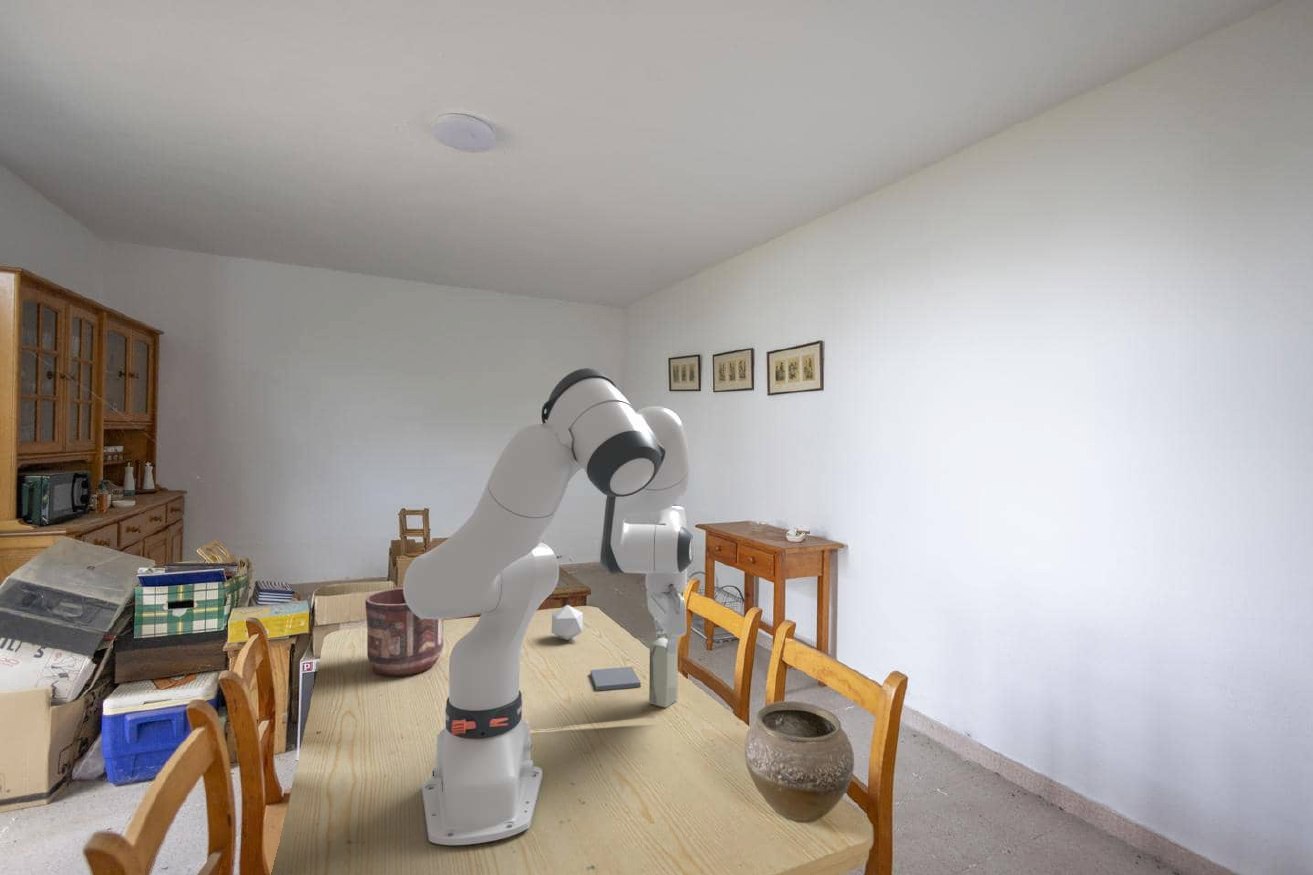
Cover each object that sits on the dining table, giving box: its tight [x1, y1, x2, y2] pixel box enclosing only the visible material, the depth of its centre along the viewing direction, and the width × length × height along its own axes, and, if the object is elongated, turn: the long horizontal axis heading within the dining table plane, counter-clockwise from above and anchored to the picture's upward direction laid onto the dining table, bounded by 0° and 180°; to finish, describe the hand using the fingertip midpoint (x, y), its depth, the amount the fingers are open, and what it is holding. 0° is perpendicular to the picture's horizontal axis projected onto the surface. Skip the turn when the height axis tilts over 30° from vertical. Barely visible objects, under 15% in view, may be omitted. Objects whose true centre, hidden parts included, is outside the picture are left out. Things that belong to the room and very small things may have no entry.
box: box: [648, 637, 679, 709], centre depth 129 cm, size 5×4×13 cm
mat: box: [590, 666, 641, 692], centre depth 141 cm, size 10×10×1 cm
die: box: [551, 604, 584, 641], centre depth 169 cm, size 8×9×10 cm
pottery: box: [365, 587, 445, 678], centre depth 147 cm, size 18×18×18 cm
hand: (665, 645), depth 129 cm, fingers open, 8 cm apart
